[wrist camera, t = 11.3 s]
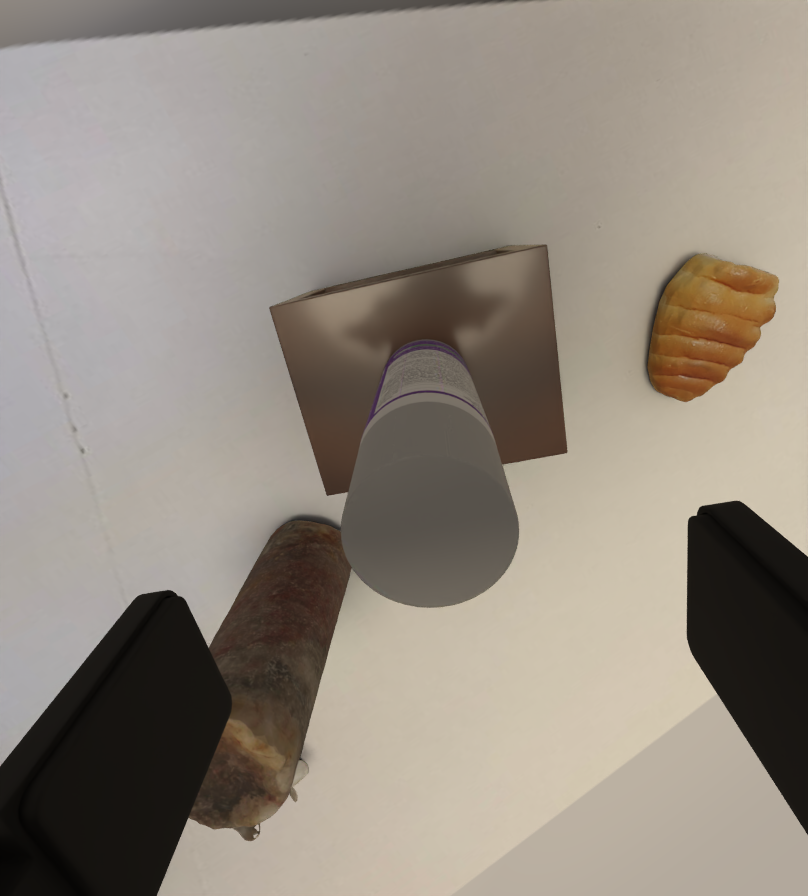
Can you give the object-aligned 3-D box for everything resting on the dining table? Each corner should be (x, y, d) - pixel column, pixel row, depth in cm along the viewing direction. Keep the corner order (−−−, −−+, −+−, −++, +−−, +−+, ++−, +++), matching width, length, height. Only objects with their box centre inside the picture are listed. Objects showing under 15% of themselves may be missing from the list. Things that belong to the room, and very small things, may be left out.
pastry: (706, 403, 36) (737, 420, 33) (619, 382, 36) (640, 396, 32) (771, 271, 33) (813, 274, 29) (675, 246, 32) (705, 246, 29)
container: (438, 440, 27) (453, 638, 13) (365, 396, 26) (302, 559, 13) (487, 369, 26) (564, 512, 12) (412, 320, 25) (398, 412, 11)
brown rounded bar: (260, 572, 43) (138, 815, 25) (274, 502, 41) (149, 716, 22) (344, 593, 44) (285, 846, 25) (363, 525, 41) (314, 753, 23)
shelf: (310, 291, 34) (268, 307, 25) (511, 245, 33) (547, 244, 23) (349, 435, 38) (326, 496, 29) (531, 401, 37) (567, 453, 27)
